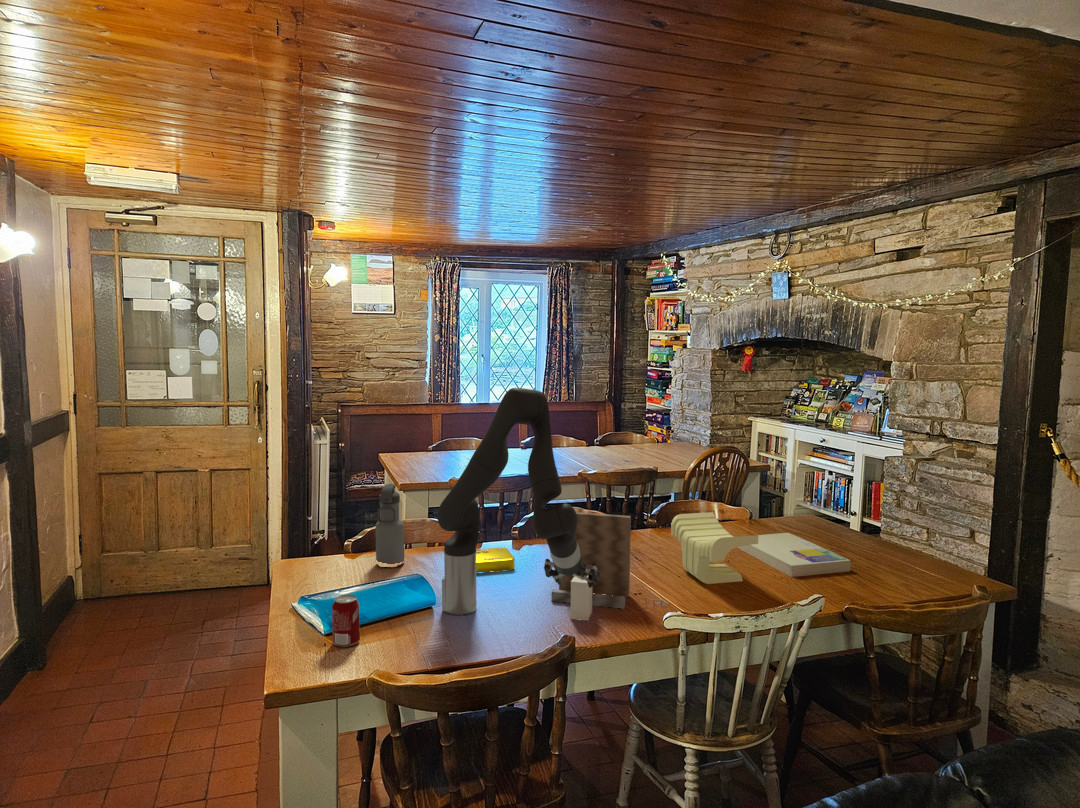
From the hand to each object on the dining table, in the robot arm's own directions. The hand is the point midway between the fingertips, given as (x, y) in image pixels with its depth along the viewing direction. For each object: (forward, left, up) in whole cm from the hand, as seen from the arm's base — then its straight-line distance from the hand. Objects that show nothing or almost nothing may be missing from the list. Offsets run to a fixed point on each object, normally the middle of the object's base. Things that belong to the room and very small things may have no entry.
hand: (575, 582), depth 185 cm
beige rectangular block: (0, +8, -13) cm, 15 cm away
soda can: (-55, -26, -13) cm, 62 cm away
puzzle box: (+62, +81, -13) cm, 103 cm away
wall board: (0, +23, -13) cm, 26 cm away
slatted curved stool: (+35, +53, -13) cm, 65 cm away
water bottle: (-74, +34, -13) cm, 83 cm away
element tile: (-40, +43, -13) cm, 61 cm away
